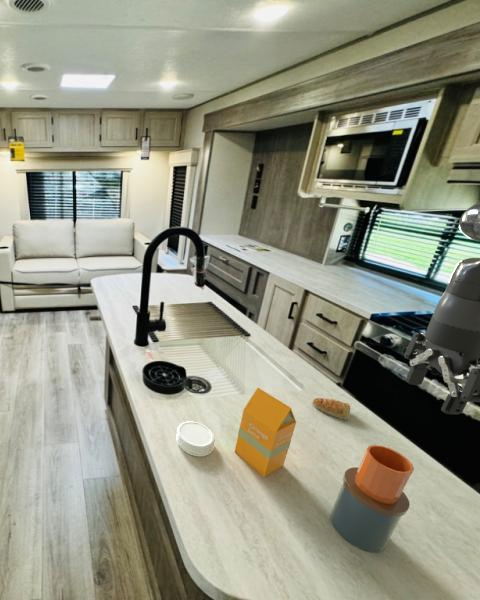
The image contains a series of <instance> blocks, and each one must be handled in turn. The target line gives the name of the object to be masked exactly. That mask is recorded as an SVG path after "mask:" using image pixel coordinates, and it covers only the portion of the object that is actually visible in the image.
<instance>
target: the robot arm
mask: <svg viewBox="0 0 480 600" xmlns="http://www.w3.org/2000/svg"><path fill="white" fill-rule="evenodd" d="M458 228H459V230H460V232H461V233H462V234H463V236H465V237H467V238H469V239H471V240H473V241H476V242H480V201H478V202H477V203H475V204H473V205H471V206H469V207H468V208H467V209H466V210H465V211H464V212H463V213H462V215H461V216H460V219H459V222H458ZM415 351H416V353H415ZM403 357H404V359H408V360H409V365H410V368H409V370H408V372H407V374H406V379H405V381H406V382H407V383H408V384H409V385H414V386H420V385H422V384H423V382H424V380H425V377H426V375H427V373H428V371H429V370H428V368H429V367H431V368H433V369H436V370H437V371H438V372H439V373H440V374H441V375H442V378H443V381H444V383H445V384H447V386H448V389H449V390H448V391H449V393H448V394H447V395H446V398H445V400H444V401H443V404H442V406H441V408H440V410H441V412H443V413H444V414H445V415H446V414H447V415H455V416H456V415H461V414H462V413H463V412H464V410H465V408H466V406H467V404H468V402H471V403H472V402H473V403H480V365H479V358H480V257H469V258H465V259H462V260H460V261H459V262H458V263H456V266H455V268H454V270H453V272H452V273H451V276H450V279H449V281H448V282H447V286H446V287H445V291H444V293H443V294H442V295H441V297H440V298H439V300H438V302H437V304H436V306H435V309H434V311H433V314H432V316H431V318H430V321H429V323H428V325H427V328H426V331H425V332H414V333H413V334H412V336H411V339H410V340H409V343H408V345H407V348H406V349H405V352H404V353H403ZM457 376H458V377H459V376H462V377H463V378H456V377H457ZM459 384H460V385H461V387H462V390H460V389H459ZM476 391H477V392H476ZM475 392H476V393H475Z"/></svg>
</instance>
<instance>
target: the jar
mask: <svg viewBox="0 0 480 600" xmlns="http://www.w3.org/2000/svg"><path fill="white" fill-rule="evenodd" d="M358 468H359V466H357V467H349V468H348V469H346V470H345V471H344V473H343V476H342V484H341V487H340V490H339V492H338V494H337V496H336V498H335V502H334V504H333V505H332V508H331V511H330V513H329V514H330V515H329V517H330V522H331V524H332V526H333V528H334V529H335V531H336V532H337V533H338V534H339V535H340V536H341V537H342V539H344V540H345V541H346V542H348V543H349V544H351V545H352V546H354V547H356V548H358V549H360V550H362V551H364V552H368V553H374V554H375V553H380V552H383V551H384V550H385V548H386V546H387V545H388V543H389V541H390V539H391V537H392V536H393V534H394V531H395V529H396V528H397V526H398V524H399V522H400V520H401V518H402V517H403V516H405V515H406V514H407V512H408V511H409V509H410V505H411V504H410V500H409V498H408V496H407V495H406V493H405V492H404V491H403V492H402V494H401V496H400V498H399V499H398V501H397V502H396V503H394V504H385V503H381V502H379V501H376V500H374V499H372V498H371V497H369V496H368V495H366V494H365V493H364V492H362V491H361V490H360V489H359V487H358V486H357V485H356V483H355V475H356V473H357V471H358Z"/></svg>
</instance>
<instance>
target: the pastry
mask: <svg viewBox="0 0 480 600" xmlns="http://www.w3.org/2000/svg"><path fill="white" fill-rule="evenodd" d="M312 406H314V408H316V409H317V410H318V411H320V412H323V413H324V414H326V415H328V416H331V417H334V418H338V419H339V420H344V421H347V420H349V419H350V417H351V405H350V403H348V402H343V401H342V400H341V401H340V400H338V399H335V398H324V397H315V398H314V399H313V400H312Z"/></svg>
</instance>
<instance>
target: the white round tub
mask: <svg viewBox="0 0 480 600" xmlns="http://www.w3.org/2000/svg"><path fill="white" fill-rule="evenodd" d="M175 439H176V444H177V445H178V447H179V448H180V449H181V450H182V451H183V452H185V453H187V454H188V455H189V456H190V455H191V456H194V457H207V456H209V455H211V453H212V452H213V451H214V447H215V442H216V439H215V434H214V433H213V431H212V430H211V429H210V428H209V427H207V426H206V425H205V424H204V423H200V422H197V421H192V420H191V421H189V420H188V421H184V422H182V423H180V424H179V425H178V426H177V428H176V434H175Z"/></svg>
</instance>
